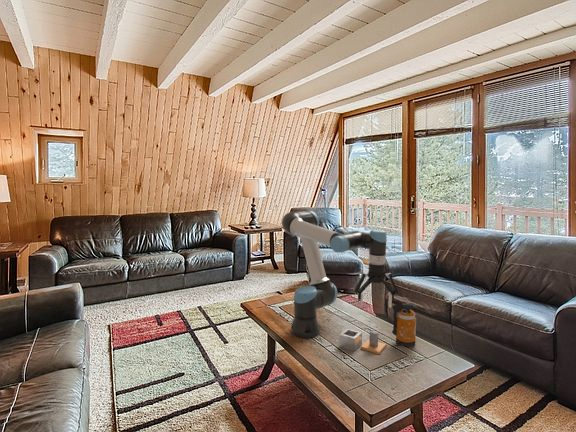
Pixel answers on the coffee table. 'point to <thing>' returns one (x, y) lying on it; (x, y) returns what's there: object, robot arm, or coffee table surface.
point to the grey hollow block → (350, 339)
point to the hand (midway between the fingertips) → (375, 306)
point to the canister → (404, 324)
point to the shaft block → (373, 344)
